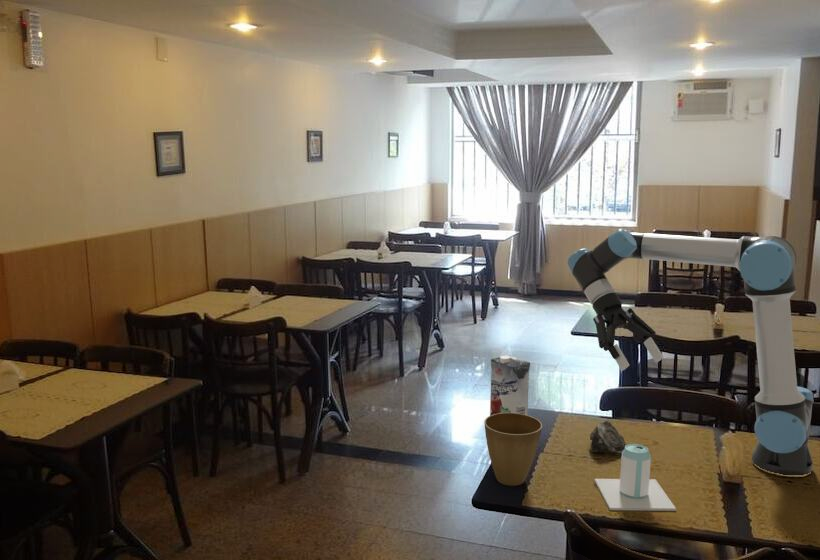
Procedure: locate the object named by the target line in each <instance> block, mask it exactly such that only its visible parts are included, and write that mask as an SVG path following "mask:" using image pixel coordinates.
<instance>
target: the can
mask: <svg viewBox="0 0 820 560" xmlns="http://www.w3.org/2000/svg"><path fill="white" fill-rule="evenodd" d="M649 451H650V450H649V448H648V447H647V446H644V445H643V444H638V443H631V444H627V445H626V444H625V449H624V450H623V451H622V454H621V459H620V462H621V463H620V473H619V474H620V475H619V479H620V488H619V489H620V491H621V492H622V493H623V494H625V495H626V496H629V497H632V498H641V497H644V496H646V495H647V494H648V492H649V479H651V478H650V477H651V464H652V463H651V462H652V456H651V453H650V452H649Z"/></svg>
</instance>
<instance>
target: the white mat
mask: <svg viewBox="0 0 820 560" xmlns="http://www.w3.org/2000/svg"><path fill="white" fill-rule="evenodd" d="M594 482H595V484H596V486H597V488H598V490H599V492H600V493H601V495H602V498H603V500H604V502H605V504H606V506H607V507H608V510H609V511H646V512H647V511H650V512H652V511H654V512H655V511H656V512H657V511H658V512H659V511H663V512H664V511H665V512H667V511H669V512H671V511H672V512H675V511H676V512H677V508H676V506H675V505H674V503H673V502H672V501H671V499H670V498H669V497H668V495H667V493H666V492H665V491H664V490H663V488H662V486H661V485H660V484H659V482H658V481H657V479H656V478H655V479H654V478H649V492H648V494H647V495H646V496H644V497H641V498H632V497H629V496H626V495H625V494H623V493H622V492H621V491H620V489H619V488H620V478H594Z"/></svg>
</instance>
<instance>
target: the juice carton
mask: <svg viewBox="0 0 820 560" xmlns="http://www.w3.org/2000/svg"><path fill="white" fill-rule="evenodd" d="M530 369H531V363H530V362H529V361H527V360H522V359H520V358H518V357H515V356H514V355H501V356H499V357H494V358H490V406H489V407H490V408H489V416H491V415H493V414H497V413H519V414H525V415H528V411H529V410H528V409H529V407H528V406H529V387H530V386H529V385H530V384H529V380H530Z"/></svg>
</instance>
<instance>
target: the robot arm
mask: <svg viewBox="0 0 820 560" xmlns="http://www.w3.org/2000/svg"><path fill="white" fill-rule="evenodd" d="M627 259H636V260H637V259H638V260H640V259H642V260H652V261H663V262H665V261H666V262H672V263H674V262H676V263H686V264H695V265H696V264H697V265H706V266H707V265H709V266H719V267H731V268H736V270H737V271H739V273H740V276H741V277H742V279H743V285H744V293H745V294H744V295H745V296H746V297H747V298H748V299H750V300H751V301H752V311H753V314H752V315H753V323H754V324H753V325H754V333H755V334H754V335H755V346H756V359H757V367H758V378H759V379H758V380H759V389H760V391H759V392H758V393H757V394H756V395H755V396H754V405H755V415H756V417H755V418H756V419H755V420H756V421H754V427H753V428H754V429H753V430H754V434H755V437H756V439H757V444H756V446H755V447H754V449H753V451H752V455H751V462H752V461H753V463H754V464H756V465H757V466H759V467H760V468H762V469H765V470H767V471H770V472H774V473H779V474H783V475H804V474H808V473H810V472H811V471H812V472H813V467H814V463H813V459H812V454H811V450H810V447H809V438H810V431H811V430H810V429H811V420H812V410H813V403H814V393H813V392H812V390H811V389H808V388H805V387H803V386H798V381H797V380H798V379H797V370H796V359H795V348H794V346H795V345H794V336H793V324H792V311H791V297H792V296H793V295H794V294H795V293H796V291H797V290H796V278H795V277H796V276H795V267H796V265H797V261H798V260H797V253H796V249H795V248H794V246H793V245H792V244H791V242H789V241H788V240H787V239H785V238H782V237H780V236H776V235H766V236H764V235H763V236H750V235H749V236H748V235H743V236H741V237H740V238H739V239H735V238H725V237H724V238H722V237H720V238H719V237H707V236H705V237H704V236H693V235H692V236H691V235H678V234H665V233H663V234H662V233H649V232H645V233H643V232H637V231H635V230H626V229H624V228H618V229H617V230H616V231H614V232H612V233H611V234H609V236H608V237H607V238H605V239H604V240H603V241H601V242H600V243H599V244H597V246H595V248H593V249H592V250H590V249H588V248H580V249H578V250H577V251H575V252H573V253H572V254H571V255H570V256H569V257H568V259H567V260H566V261H567V266H568V267H569V270H570V272H571V274H572V276H573V277H574V278H575V280H576V283H578V285H579V287H580V288H581V290H582V292H583V294H584V295H585V296H586V298H587V300H588V302H589V303H590V305H592V309H593V310H594V312H595V314H596V315H595V316H594V317H593V318H592V319H593V322H594V324H595V327H596V329H595V330H596V334H597V341H598V347H599V348H600V349H603V350H604V351H605V352H609V354H610V356H611V357H612V359H614V360H615V362H616V364H617V365H618V367H619V369H620V371H621V372H623V371H625V370H626V369H627V368H628V367H629V366H630V363H629V362H628V359H627V358H626V357H625V354H624V353H623V351H622V349H621V348H620V347H619V344H617V343H616V344H615V338H616V330H617V329H624V330H628V331H629V332H630V333H633V334H634V335H635V336H637V337H638V338H639V339H641V340H643V341H644V342H643V344H644V346H645V348H646V349H647V351H648V353H649V354H650V356H651V357H652V359H653V361H654V362H655V364H657V363H659V362H660V361H661V360H663V359H664V355H663V354H662V352H661V351H660V350H661V349H660V348H659V346H658V344H657V343H656V341H655V340H654V338H653V337H654V336H655V335H656V331H655V330H654V329H653V328H652V327H651V326H649V324H647V323H646V322H645V321H644V320H643V319H642V318H641V317H640V316H639V315H637V313H635V311H634V309H633V308H631V307H630V308H628V309H627V310H624V309H623V308H622V305H623V302H622V300H621V299H620V297H619V296H618V293H615V289H614V287H613V286H612V284H611V283H610V280H608V278H607V276H606V274H607V273H608V272H610V270H612V269H613V268H614V267H616V266H617V265H618V264H620V263H621V262H622V261H626V260H627Z"/></svg>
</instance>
